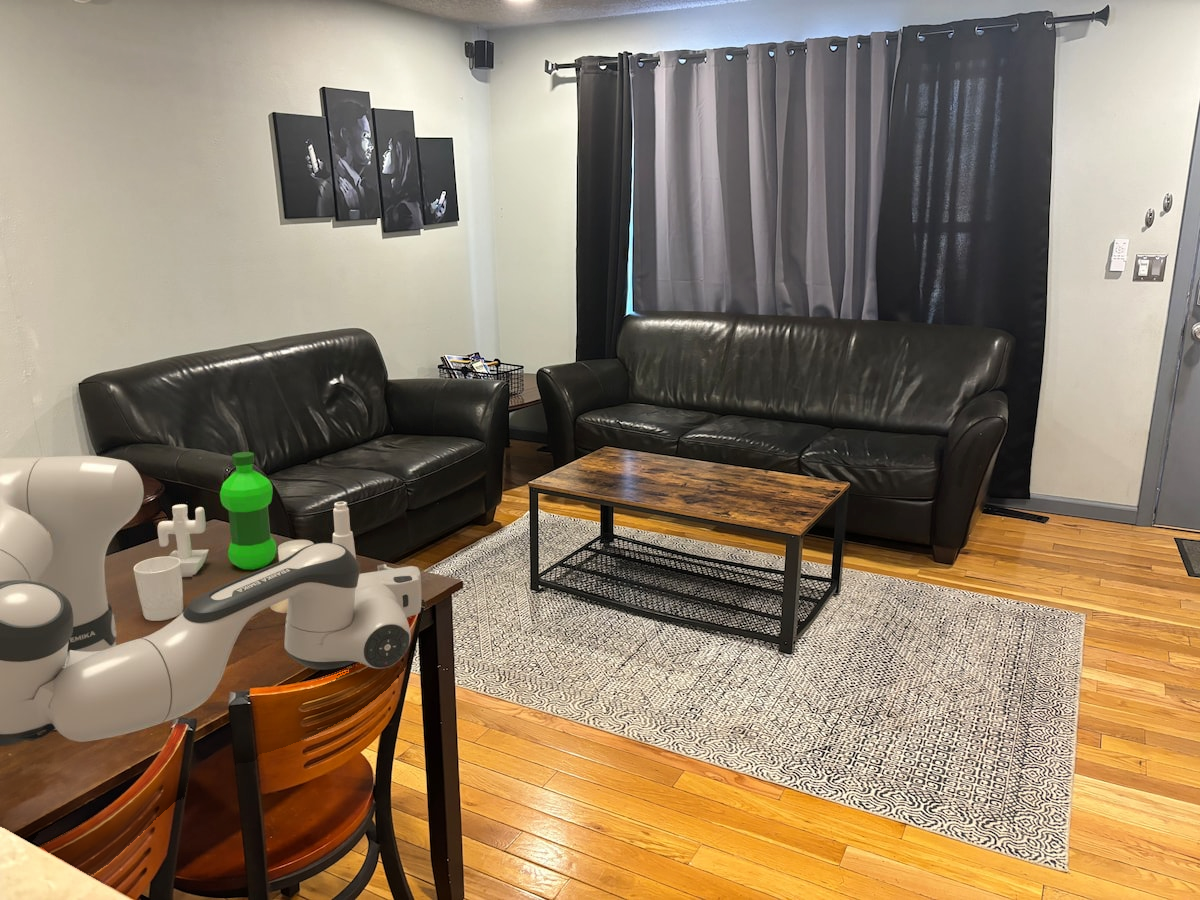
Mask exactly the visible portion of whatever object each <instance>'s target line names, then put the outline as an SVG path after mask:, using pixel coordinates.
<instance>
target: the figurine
mask: <svg viewBox="0 0 1200 900" xmlns="http://www.w3.org/2000/svg"><path fill="white" fill-rule="evenodd" d="M171 509H172V510H171V512H172V516H173V517H172V520H162V521H159V522H158V525H157V536H158V544H159V546H160V547H161V548H164V547H165V548H166V547H167V546H168V545H169V535H175V540H176V548H177V549H175V550H172V552H170V554H169V555H168V556H167V557H176V558H178V559H180V561H181V572H182V578H187V577H189V578H191V577H193V575H197V573H198V571H199V570H200V569H201V568H202V567H203V566H204V564H205V561H206V558H207V555H208V553H209V551H210V550H209V549H192V544H191V534H203V533H204V532H205V531H206V527H207V526H206V525H207V524H206V523H207V522H206V515H205V509H204V507H202V506H198V507H196V508H195V510H194V512H195V519H192V520H191V519H189V517H188V510H189V509H188V505H187V504H184V503H183V504H182V503H181V504H180V503H179V504H175V505H173V506H172V507H171Z"/></svg>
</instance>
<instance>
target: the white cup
mask: <svg viewBox="0 0 1200 900" xmlns="http://www.w3.org/2000/svg"><path fill="white" fill-rule="evenodd" d="M132 568H133V573H134V580H135V584H136V589H137V594H138V599H139V601H140V605H141V609H142V615H143V617H144V619H145V620H147V621H150V622H160V621H162V622H163V621H167V620H171V619H173V618H177V617H178V616H179V615H180V614H181V613H183V612H184V599H183V598H184V597H183V596H184V595H183V594H184V591H183V577H182V572H181V561H180V559H178V558H176V557H168V556H157V557H152V558H147V559H145V560H142V561H139V562H138V563H136V564H135V565H134V566H133V567H132Z"/></svg>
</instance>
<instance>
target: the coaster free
mask: <svg viewBox="0 0 1200 900" xmlns="http://www.w3.org/2000/svg"><path fill="white" fill-rule="evenodd" d="M287 605H288V598H287V599H285V600H283V601H281V602H279V603H276V604H274V605H272V606H270V609H271V610H272V611H273V612H276V613H281V614H287Z"/></svg>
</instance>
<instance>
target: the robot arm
mask: <svg viewBox="0 0 1200 900" xmlns="http://www.w3.org/2000/svg"><path fill="white" fill-rule="evenodd" d="M144 494H145V491H144V484H143V480H142V477H141V474H140V473H139V472H138V470H137V469H136V468H135V466H134V465H133V464H132V463H130V462H129V461H128V460H124V459H119V458H118V459H117V458H113V457H107V456H99V455H62V456H61V455H59V456H54V455H53V456H49V455H48V456H38V457H37V456H35V457H33V456H31V457H30V456H29V457H28V456H26V457H25V456H24V457H0V747H7V746H12V745H17V744H20V743H23V742H26V741H29V742H33V741H34V742H35V741H38V740H40V739H42V738H45V737H46V736H48V735H49V734H51V733H52V732H53V731H57V732H58V733H59V734H60V735H62V736H63V737H64V738H65V739H68V740H70V741H74V742H79V743H80V742H81V743H83V742H84V743H85V742H91V741H93V742H94V741H98V740H103V739H104V740H105V739H109V738H115V737H118V736H123V735H127V734H131V733H135V732H138V731H141V730H145V729H147V728H151V727H154V726H158V725H159V724H162V723H166V722H169V721H171V720H174V719H177V718H180V717H181V716H184V715H187V714H189V713H190V712H192V711H194V710H196V709H197V708H199V706H201V705H203V704H204V703H205V702H206V701H208V700H209V698H210V697H211V696H212V695H213V693H214V692H215V691H216V689H217V688H218V686H219V683H220V682H221V680H222V678H223V675H224V674H225V670H226V667H227V663H228V662H229V661H228V660H229V658H230V655H231V653H232V651H233V648H234V646H235V644H236V642H237V639H238V637H239V635H240V634H241V632H242V630H243V628H244V627H245V626H246V624H247V623H248V621H249V620H250V619H251V618H253V617H254V616H255V615H256V614H257V613H259V612H261V611H263V610H265V609H268V608H269V607H270V606H272V605H274V604H276V603H279V602H281V601H283V600H285V599H287V598H288V605H287V613H286V617H285V625H284V640H283V641H284V642H283V648H284V651H285V652H286V653H287V655H288V656H289V657H290V658H291V659H293V660H294V661H295V662H297V663H298V664H300V665H302V666H304V667H306V668H309V669H312V670H333V669H340V668H343V667H346V666H349V665H352V664H354V663H360V664H363V665H365V666H366V667H368V668H372V669H386V668H390V667H392V666H394V665H395V664H397V663H398V662H400V660H401V659H402V658H403V657H404V656H405V654H406V653H407V651H408V649H409V647H410V643H411V639H412V638H411V637H412V635H411V629H410V625H409V621H408V618H410V617H412V616H415V615H418V614H420V613H421V610H422V577H421V572H420V569H419V567H417V566H414V565H410V566H409V565H408V566H402V567H397V568H393V567H390V566H387V564H385V563H384V564H380V565H377V567H376V568H377V571H370V572H364V573H362V572H361V564H360V563H359V562H358V560H357V558H356V559H355V557H354V556H353V555H352V554H351V553H350V551H349V550H347V549H346V548H345V547H344V546H342V545H339V544H335V543H333V542H320V543H319V542H317V543H314V544H312V545H309V546H306V547H304V548H302V549H301V550H299V551H297V552H296V553H294V554H293V555H291V556H289V557H288V558H286V559H284V560H282V561H280V562H279V561H278V562H275V563H273V564H271V565H267V566H265V567H263V568H260V569H257V570H256V571H253V572H252V573H249V574H246V575H244V576H241V577H239V578H236V579H234V580H232V581H229V582H227V583H225V584H222V585H220V586H218V587H216V588H213V589H211V590H209V591H207V592H205V593H203V594H200V595H199V596H197V597H195V598H194V599H192V600H191V601H190V602H189V603H188V605H187V606H186V607H185V609H183V611H182V613H181V614H179V615H178V616H176V617H175V619H173V620H172V621H171V622H170V623H168V624H166V625H165V626H163V627H162V628H160V629H158V630H157V631H155V632H153V633H151V634H149V635H145V636H144V637H140V638H136V639H133V640H130V641H129V640H128V641H126V642H123V643H120V644H117V642H116V640H117V639H116V638H117V626H116V621H115V615H114V613H113V606H112V605H111V604H110V602H108V595H107V586H106V576H105V575H106V573H105V559H106V554H107V551H108V547H109V545H110V543H111V542H112V541H113V538H114V537H115V535H116V534H117V532H119V531H120V530H121V528H123V527H124V526H125V525H127V524H128V523H129V522H130V521H131V520H132V519H134V517H135V516H136V515H137V513H138V512H139V511H140V509H141V506H142V503H143V501H144ZM360 572H361V573H360Z"/></svg>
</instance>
